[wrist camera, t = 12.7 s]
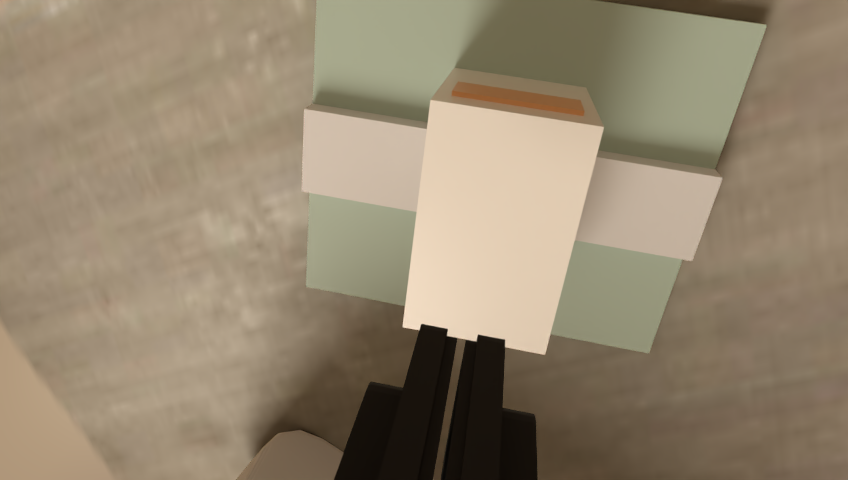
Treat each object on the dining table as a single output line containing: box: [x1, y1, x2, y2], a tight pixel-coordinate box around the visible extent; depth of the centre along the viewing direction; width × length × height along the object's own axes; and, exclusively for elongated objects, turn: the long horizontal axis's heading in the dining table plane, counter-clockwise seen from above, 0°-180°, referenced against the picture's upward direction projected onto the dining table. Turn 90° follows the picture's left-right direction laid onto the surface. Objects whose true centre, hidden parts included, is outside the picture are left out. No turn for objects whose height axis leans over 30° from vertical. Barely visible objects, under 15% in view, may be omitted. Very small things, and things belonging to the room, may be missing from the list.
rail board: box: [302, 0, 767, 354], centre depth 24 cm, size 16×14×2 cm
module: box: [403, 68, 604, 355], centre depth 21 cm, size 5×8×6 cm, turn 173°
